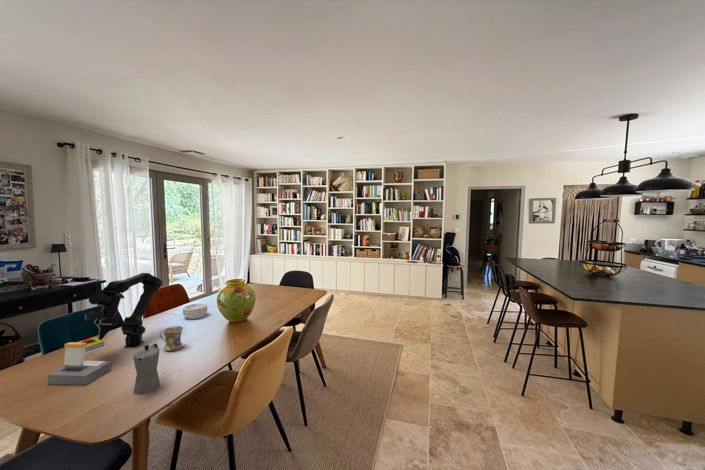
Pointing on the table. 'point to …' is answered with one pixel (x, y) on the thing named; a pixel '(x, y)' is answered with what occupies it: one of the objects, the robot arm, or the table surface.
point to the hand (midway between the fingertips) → (100, 339)
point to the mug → (172, 338)
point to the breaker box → (79, 373)
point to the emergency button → (93, 344)
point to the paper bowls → (195, 311)
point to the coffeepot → (146, 369)
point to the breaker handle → (74, 355)
